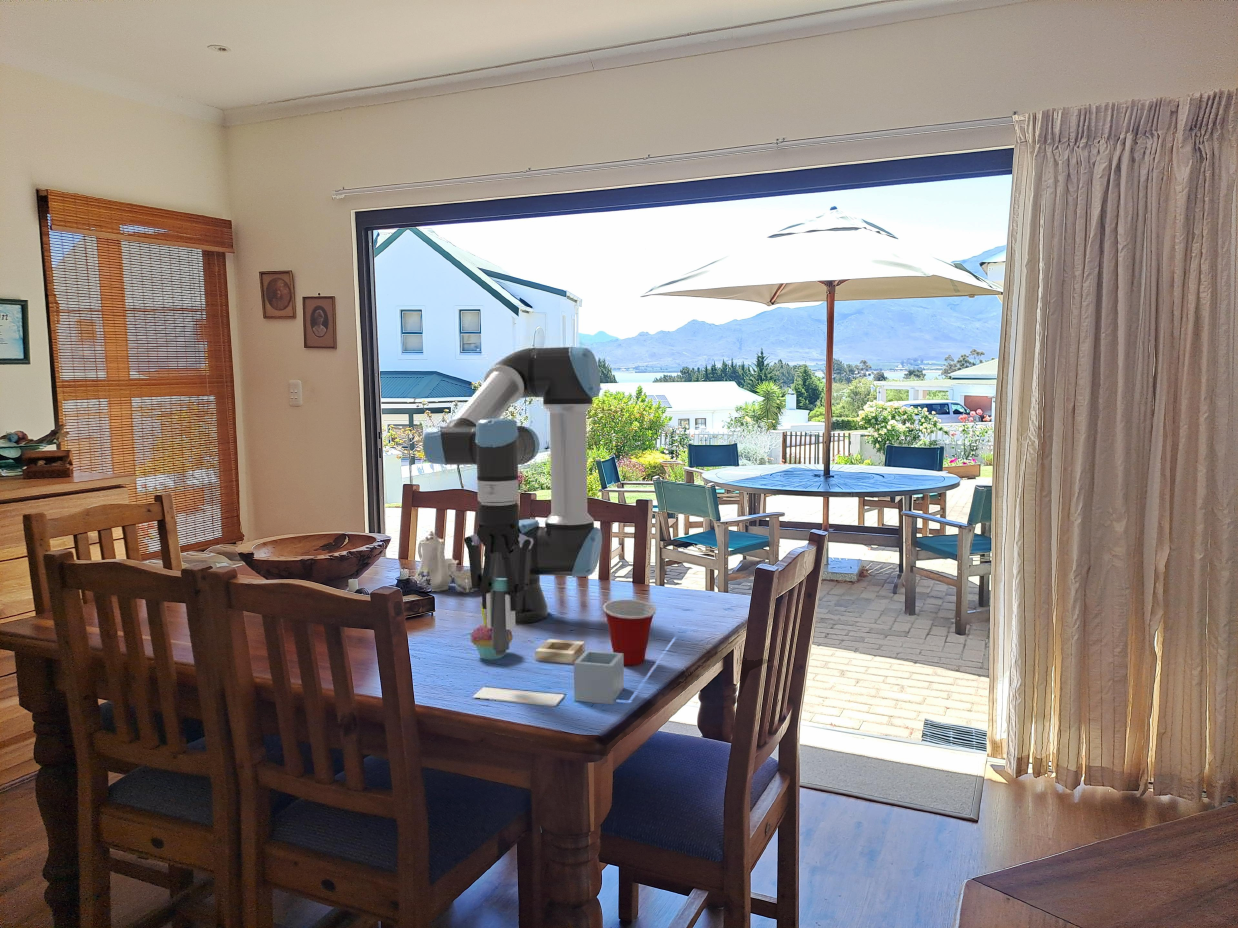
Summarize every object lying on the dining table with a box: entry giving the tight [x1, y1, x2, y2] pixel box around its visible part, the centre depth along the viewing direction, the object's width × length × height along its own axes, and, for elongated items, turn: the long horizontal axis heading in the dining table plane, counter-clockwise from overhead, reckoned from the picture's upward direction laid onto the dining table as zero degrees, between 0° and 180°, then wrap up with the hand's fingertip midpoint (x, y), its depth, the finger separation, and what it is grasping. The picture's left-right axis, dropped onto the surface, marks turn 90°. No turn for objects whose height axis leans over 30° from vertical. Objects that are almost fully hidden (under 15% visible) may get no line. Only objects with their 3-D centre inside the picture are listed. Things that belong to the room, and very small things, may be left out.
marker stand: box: [534, 638, 586, 665], centre depth 178 cm, size 8×8×2 cm
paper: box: [472, 685, 567, 707], centre depth 161 cm, size 16×14×1 cm
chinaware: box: [413, 530, 483, 594], centre depth 239 cm, size 28×17×17 cm, turn 38°
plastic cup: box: [602, 599, 658, 667], centre depth 173 cm, size 11×11×12 cm
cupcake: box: [470, 601, 514, 660], centre depth 178 cm, size 9×8×12 cm
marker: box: [492, 578, 511, 656], centre depth 161 cm, size 3×3×14 cm
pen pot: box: [573, 649, 625, 705], centre depth 156 cm, size 7×7×7 cm
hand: (501, 626), depth 161 cm, fingers closed on marker, 3 cm apart
